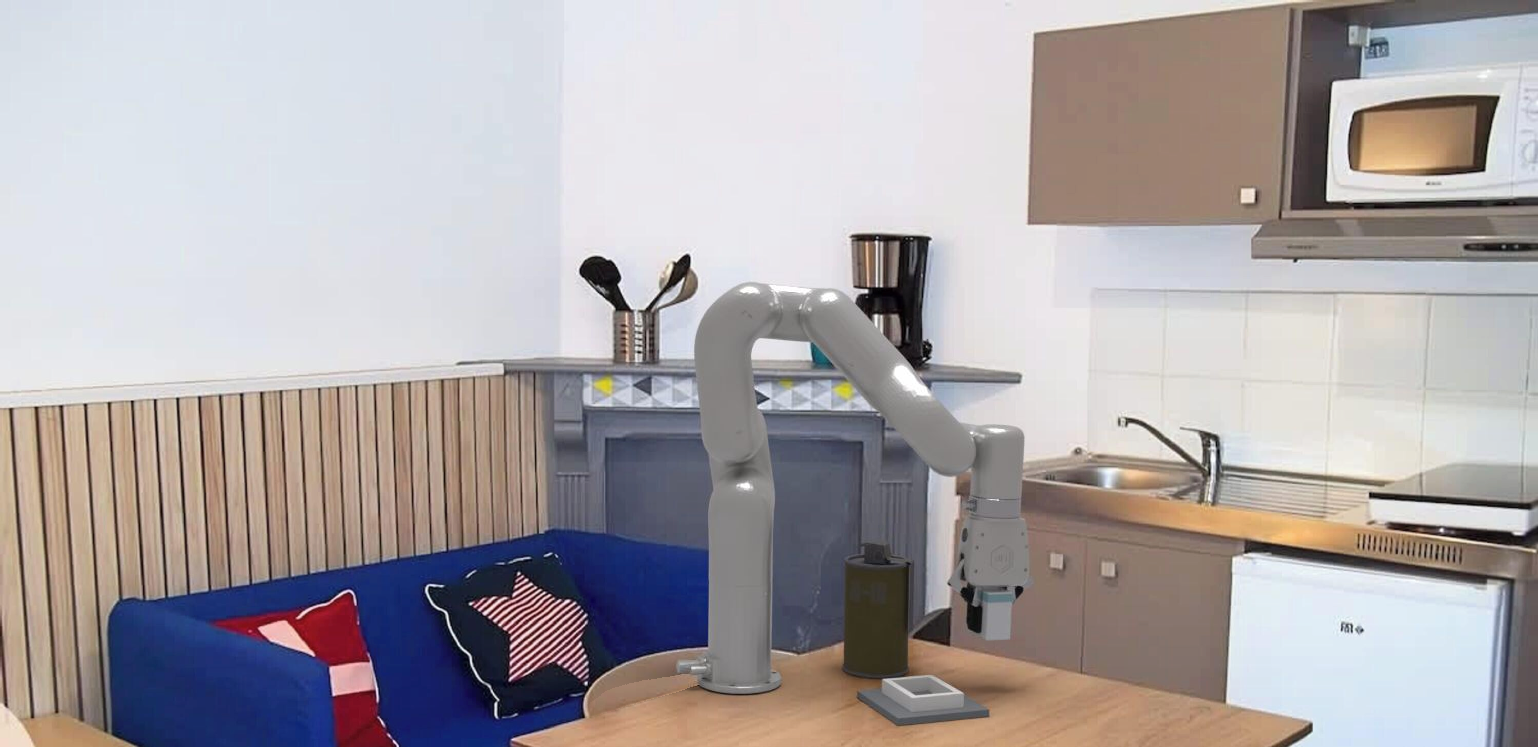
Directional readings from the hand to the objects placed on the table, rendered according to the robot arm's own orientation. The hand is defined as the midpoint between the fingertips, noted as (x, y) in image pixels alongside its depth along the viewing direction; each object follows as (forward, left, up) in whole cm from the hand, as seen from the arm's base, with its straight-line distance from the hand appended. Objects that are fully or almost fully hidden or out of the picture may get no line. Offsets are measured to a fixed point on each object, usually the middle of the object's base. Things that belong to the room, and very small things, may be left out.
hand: (988, 628), depth 211 cm
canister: (-11, +15, -9) cm, 21 cm away
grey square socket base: (-13, -5, -9) cm, 17 cm away
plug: (0, 0, -1) cm, 1 cm away
